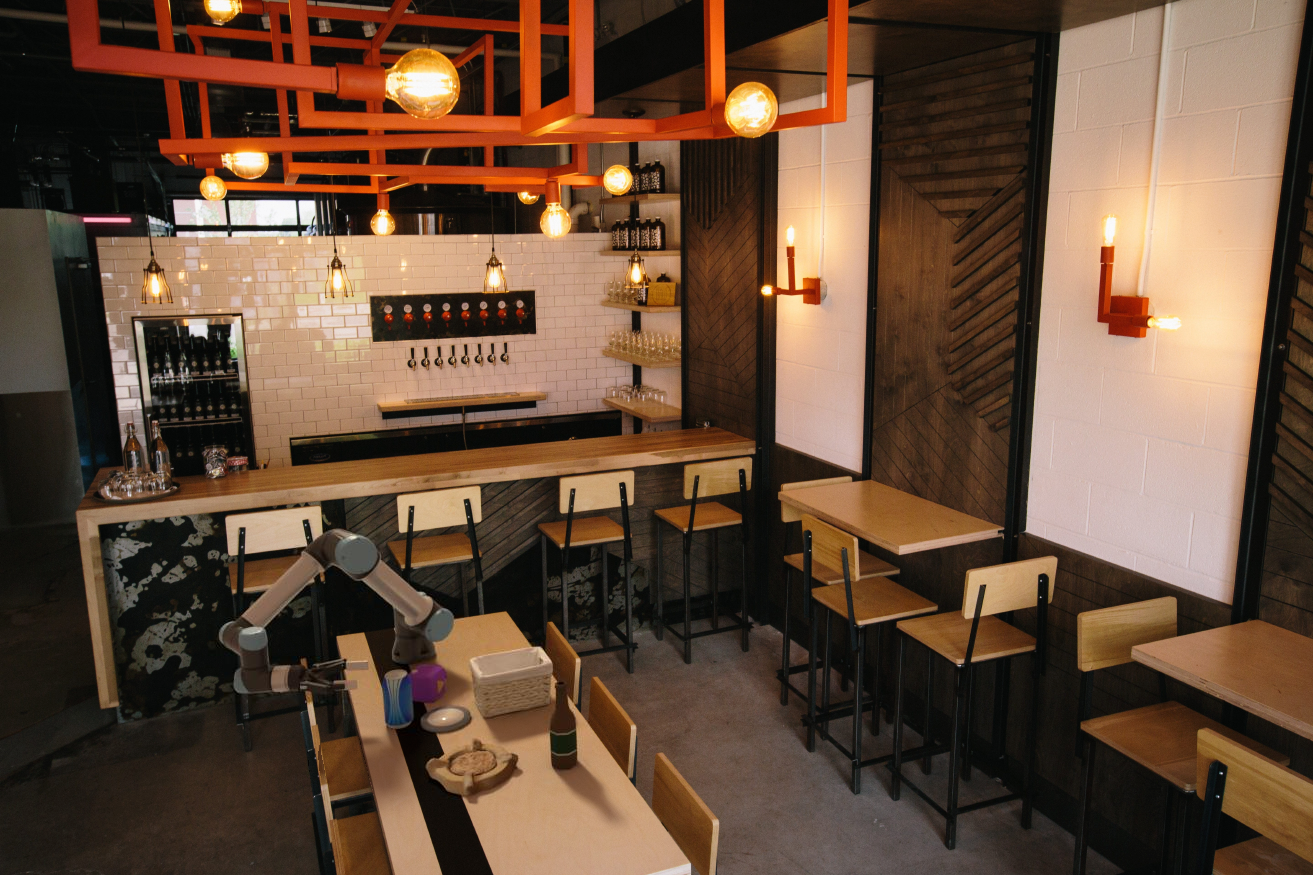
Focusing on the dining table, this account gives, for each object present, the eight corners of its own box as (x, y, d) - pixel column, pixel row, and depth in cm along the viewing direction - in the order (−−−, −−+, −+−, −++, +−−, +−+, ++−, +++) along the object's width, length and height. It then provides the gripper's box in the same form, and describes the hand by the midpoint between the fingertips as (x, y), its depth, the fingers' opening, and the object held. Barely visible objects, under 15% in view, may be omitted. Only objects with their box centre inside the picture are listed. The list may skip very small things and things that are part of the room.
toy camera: (452, 685, 292) (450, 657, 290) (438, 705, 278) (436, 675, 276) (421, 684, 293) (419, 656, 291) (405, 704, 279) (403, 675, 278)
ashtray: (441, 807, 224) (439, 789, 223) (420, 763, 245) (419, 747, 244) (528, 781, 235) (527, 764, 234) (501, 741, 256) (501, 725, 255)
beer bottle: (583, 758, 245) (579, 678, 241) (571, 772, 238) (567, 690, 234) (558, 753, 248) (554, 674, 243) (545, 768, 240) (541, 687, 236)
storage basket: (541, 685, 291) (539, 643, 288) (556, 706, 276) (554, 662, 273) (470, 700, 281) (467, 657, 279) (481, 722, 267) (478, 677, 264)
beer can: (388, 717, 271) (384, 668, 268) (416, 715, 272) (412, 667, 269) (382, 730, 263) (378, 681, 260) (411, 728, 263) (407, 679, 261)
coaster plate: (425, 709, 275) (425, 706, 275) (473, 706, 276) (473, 703, 276) (416, 733, 260) (416, 730, 260) (467, 730, 262) (467, 727, 261)
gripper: (304, 671, 275) (373, 668, 276) (277, 709, 250) (352, 705, 252) (302, 649, 273) (371, 646, 275) (274, 684, 249) (350, 681, 251)
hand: (362, 674), depth 263 cm, fingers open, 13 cm apart
